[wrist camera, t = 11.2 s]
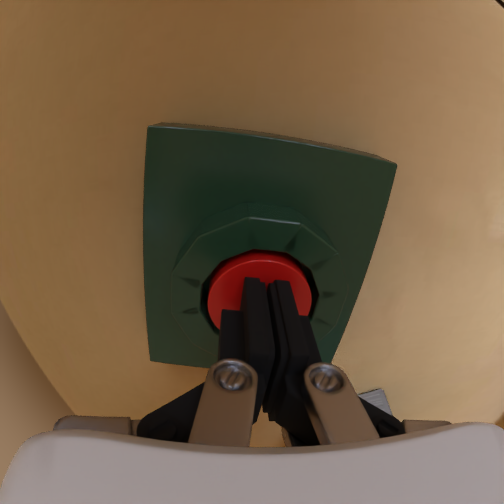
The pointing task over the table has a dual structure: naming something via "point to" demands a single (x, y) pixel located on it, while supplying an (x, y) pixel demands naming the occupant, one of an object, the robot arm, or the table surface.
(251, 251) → the red stop button
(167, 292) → the button box
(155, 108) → the table surface
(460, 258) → the table surface
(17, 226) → the table surface
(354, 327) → the table surface
